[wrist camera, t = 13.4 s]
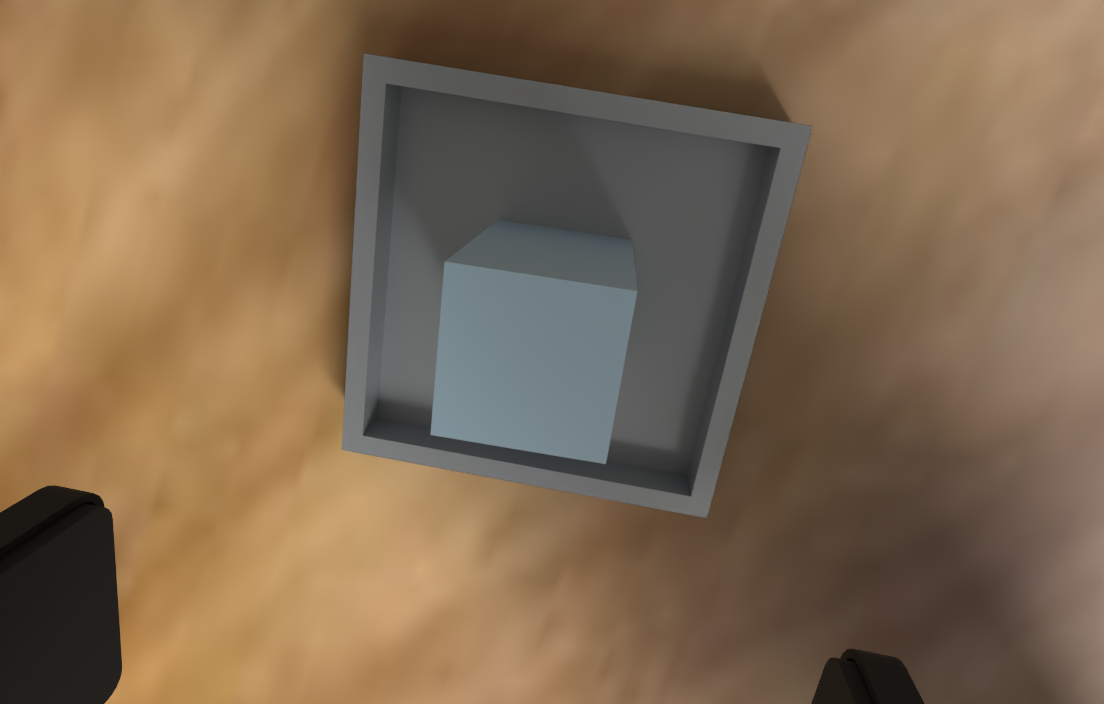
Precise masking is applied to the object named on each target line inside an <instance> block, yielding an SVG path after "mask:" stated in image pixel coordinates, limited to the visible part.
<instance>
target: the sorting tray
mask: <svg viewBox="0 0 1104 704" xmlns="http://www.w3.org/2000/svg"><path fill="white" fill-rule="evenodd" d="M812 127H813V126H809V125H803V124H797V123H790V122H784V121H778V120H772V119H766V118H760V117H753V116H747V115H741V114H735V113H729V112H723V111H716V110H710V109H704V108H698V107H692V106H685V105H679V104H673V103H667V102H661V101H655V100H648V99H642V98H636V97H630V96H624V95H617V94H611V93H605V92H599V91H593V90H587V89H580V88H574V87H568V86H562V85H556V84H550V83H543V82H537V81H531V80H525V79H519V78H512V77H506V76H500V75H494V74H488V73H482V72H475V71H469V70H463V69H457V68H451V67H445V66H438V65H432V64H426V63H420V62H414V61H407V60H401V59H395V58H389V57H383V56H377V55H370V54H363V72H362V91H361V109H360V127H359V146H358V164H357V182H356V201H355V219H354V237H353V255H352V274H351V292H350V310H349V329H348V347H347V365H346V384H345V402H344V420H343V439H342V450H345V451H350V452H356V453H361V454H366V455H372V456H377V457H382V458H388V459H393V460H398V461H404V462H409V463H414V464H420V465H425V466H430V467H436V468H441V469H447V470H452V471H457V472H463V473H468V474H473V475H479V476H484V477H489V478H495V479H500V480H505V481H511V482H516V483H521V484H527V485H532V486H538V487H543V488H548V489H554V490H559V491H564V492H570V493H575V494H580V495H586V496H591V497H596V498H602V499H607V500H612V501H618V502H623V503H628V504H634V505H639V506H645V507H650V508H655V509H661V510H666V511H671V512H677V513H682V514H687V515H693V516H698V517H703V518H707V516H708V512H709V509H710V505H711V501H712V498H713V494H714V490H715V486H716V483H717V479H718V475H719V472H720V468H721V464H722V460H723V457H724V453H725V449H726V446H727V442H728V438H729V435H730V431H731V427H732V423H733V420H734V416H735V412H736V409H737V405H738V401H739V398H740V394H741V390H742V386H743V383H744V379H745V375H746V372H747V368H748V364H749V360H750V357H751V353H752V349H753V346H754V342H755V338H756V335H757V331H758V327H759V323H760V320H761V316H762V312H763V309H764V305H765V301H766V298H767V294H768V290H769V286H770V283H771V279H772V275H773V272H774V268H775V264H776V260H777V257H778V253H779V249H780V246H781V242H782V238H783V235H784V231H785V227H786V223H787V220H788V216H789V212H790V209H791V205H792V201H793V198H794V194H795V190H796V186H797V183H798V179H799V175H800V172H801V168H802V164H803V160H804V157H805V153H806V149H807V146H808V142H809V138H810V135H811V131H812ZM497 220H504V221H511V222H517V223H524V224H531V225H537V226H544V227H550V228H557V229H564V230H570V231H577V232H584V233H590V234H597V235H604V236H610V237H617V238H623V239H630V240H632V243H633V253H634V263H635V272H636V282H637V296H636V302H635V307H634V313H633V318H632V324H631V329H630V335H629V340H628V346H627V351H626V357H625V362H624V368H623V373H622V379H621V384H620V390H619V395H618V401H617V406H616V412H615V417H614V423H613V428H612V434H611V439H610V445H609V450H608V456H607V461H606V464H602V463H596V462H590V461H584V460H578V459H572V458H566V457H560V456H554V455H548V454H542V453H536V452H530V451H524V450H518V449H512V448H506V447H500V446H494V445H488V444H482V443H476V442H470V441H464V440H458V439H452V438H446V437H440V436H434V435H430V434H431V422H432V410H433V398H434V385H435V373H436V361H437V349H438V337H439V324H440V312H441V300H442V288H443V276H444V263H445V261H446V260H447V259H448V258H450V257H451V256H452V255H454V254H455V253H456V252H457V251H459V250H460V249H461V248H463V247H464V246H465V245H466V244H468V243H469V242H470V241H471V240H473V239H474V238H475V237H477V236H478V235H479V234H480V233H482V232H483V231H484V230H485V229H487V228H488V227H489V226H491V225H492V224H493V223H494V222H496V221H497Z"/></svg>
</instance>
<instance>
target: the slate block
mask: <svg viewBox="0 0 1104 704" xmlns="http://www.w3.org/2000/svg"><path fill="white" fill-rule="evenodd" d="M636 296H637V282H636V272H635V263H634V253H633V243H632V240H630V239H623V238H617V237H610V236H604V235H597V234H590V233H584V232H577V231H570V230H564V229H557V228H550V227H544V226H537V225H531V224H524V223H517V222H511V221H504V220H497V221H496V222H494V223H493V224H492V225H491V226H489V227H488V228H487V229H485V230H484V231H483V232H482V233H480V234H479V235H478V236H477V237H475V238H474V239H473V240H471V241H470V242H469V243H468V244H466V245H465V246H464V247H463V248H461V249H460V250H459V251H457V252H456V253H455V254H454V255H452V256H451V257H450V258H448V259H447V260H446V261H445V263H444V276H443V288H442V300H441V312H440V324H439V337H438V349H437V361H436V373H435V385H434V398H433V410H432V422H431V434H430V435H434V436H440V437H446V438H452V439H458V440H464V441H470V442H476V443H482V444H488V445H494V446H500V447H506V448H512V449H518V450H524V451H530V452H536V453H542V454H548V455H554V456H560V457H566V458H572V459H578V460H584V461H590V462H596V463H602V464H606V461H607V456H608V450H609V445H610V439H611V434H612V428H613V423H614V417H615V412H616V406H617V401H618V395H619V390H620V384H621V379H622V373H623V368H624V362H625V357H626V351H627V346H628V340H629V335H630V329H631V324H632V318H633V313H634V307H635V302H636Z"/></svg>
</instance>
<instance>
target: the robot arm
mask: <svg viewBox="0 0 1104 704" xmlns="http://www.w3.org/2000/svg"><path fill="white" fill-rule="evenodd" d="M121 673H122V659H121V643H120V627H119V611H118V596H117V580H116V564H115V548H114V533H113V518H112V514H111V512H110V511H109V509H107V508H105V507H104V503H103V500H102V499H101V498H100V496H98V495H96V494H94V493H89V492H85V491H80V490H75V489H70V488H65V487H60V486H46V487H44V488H42V489H39V490H37V491H36V492H34V493H32V494H31V495H29V496H27V497H26V498H24V499H22V500H21V501H19V502H17V503H16V504H14V505H12V506H11V507H9V508H7V509H6V510H4V511H2V512H1V513H0V704H104V703H105V702H106V701H107V700H108V699H109V697H110V696H111V695H112V694H113V692H114V690H115V688H116V687H117V684H118V682H119V680H120V676H121ZM812 704H924V702H923V700H922V698H921V696H920V694H919V692H918V690H917V689H916V687H915V685H914V683H913V681H912V679H911V677H910V675H909V673H908V671H907V669H906V667H905V666H904V665H903V663H902V662H901V661H900V660H899V659H897V658H895V657H890V656H885V655H881V654H876V653H871V652H866V651H861V650H856V649H847V650H846V651H845V652H844V653H843V654H842V656H841V658H840V659H838V658H830V659H829V660H828V661H827V663H826V665H825V667H824V670H823V673H822V676H821V679H820V681H819V684H818V687H817V690H816V692H815V695H814V698H813V701H812Z"/></svg>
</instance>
